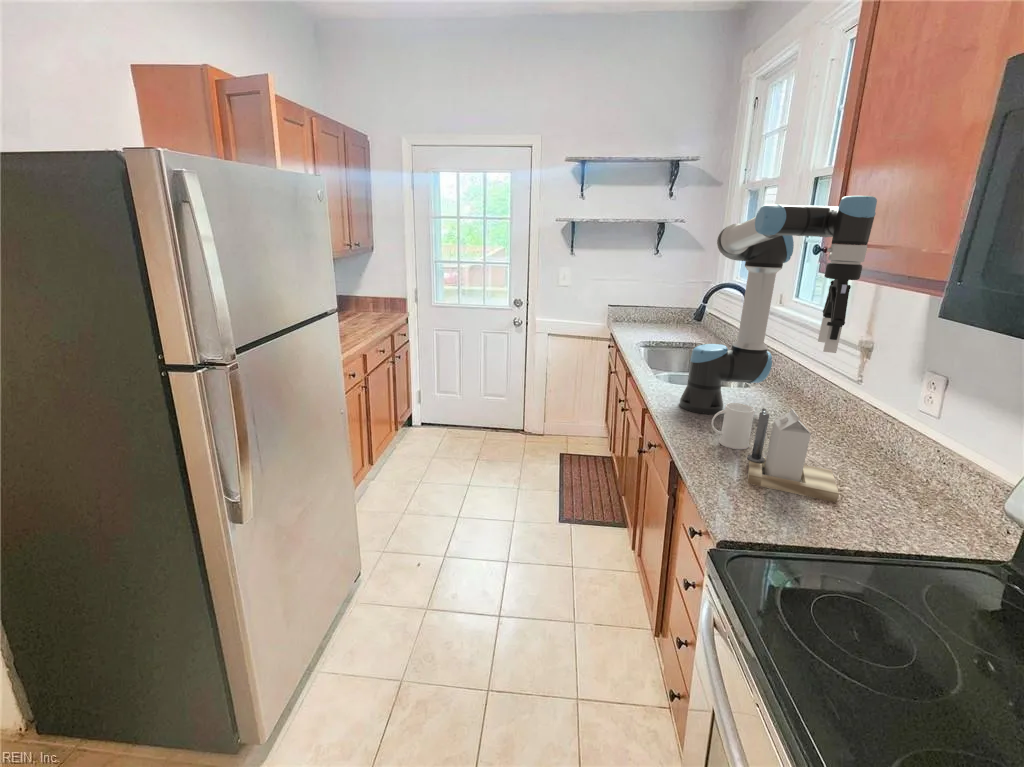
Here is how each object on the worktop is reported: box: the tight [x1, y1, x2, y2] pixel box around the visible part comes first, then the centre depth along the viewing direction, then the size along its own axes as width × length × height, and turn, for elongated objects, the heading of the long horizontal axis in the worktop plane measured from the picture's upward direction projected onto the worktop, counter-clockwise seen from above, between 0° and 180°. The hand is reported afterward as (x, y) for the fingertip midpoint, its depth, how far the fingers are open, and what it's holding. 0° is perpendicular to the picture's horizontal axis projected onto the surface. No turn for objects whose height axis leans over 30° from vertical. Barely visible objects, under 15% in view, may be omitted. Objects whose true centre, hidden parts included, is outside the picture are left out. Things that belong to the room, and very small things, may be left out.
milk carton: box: [763, 407, 812, 482], centre depth 132 cm, size 7×7×19 cm
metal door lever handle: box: [746, 407, 770, 463], centre depth 140 cm, size 7×4×16 cm, turn 155°
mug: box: [711, 402, 756, 450], centre depth 156 cm, size 12×8×12 cm
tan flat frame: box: [747, 456, 840, 503], centre depth 134 cm, size 14×20×2 cm
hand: (826, 347), depth 132 cm, fingers open, 13 cm apart
